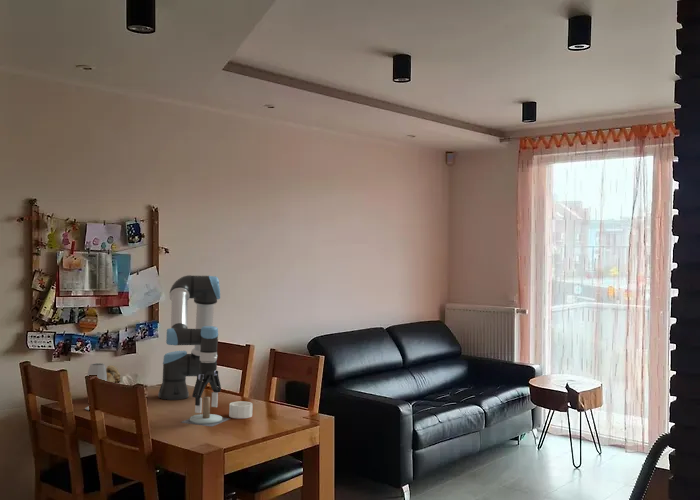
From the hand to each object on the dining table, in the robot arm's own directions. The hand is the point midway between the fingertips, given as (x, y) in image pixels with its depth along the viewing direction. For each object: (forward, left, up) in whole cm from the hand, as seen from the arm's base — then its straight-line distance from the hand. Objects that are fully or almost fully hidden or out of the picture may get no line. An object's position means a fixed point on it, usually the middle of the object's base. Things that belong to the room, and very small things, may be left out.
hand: (206, 409), depth 291 cm
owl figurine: (-16, -67, -5) cm, 69 cm away
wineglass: (+4, -57, -5) cm, 57 cm away
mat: (0, 0, -5) cm, 5 cm away
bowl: (-15, +9, -5) cm, 18 cm away
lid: (0, 0, -5) cm, 5 cm away
